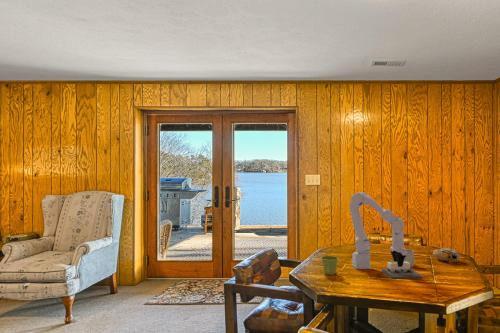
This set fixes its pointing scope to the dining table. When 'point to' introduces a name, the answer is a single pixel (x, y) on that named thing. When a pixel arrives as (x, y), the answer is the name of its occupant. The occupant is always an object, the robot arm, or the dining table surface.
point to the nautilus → (446, 255)
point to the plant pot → (329, 264)
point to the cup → (409, 257)
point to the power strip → (394, 265)
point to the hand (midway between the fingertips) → (398, 265)
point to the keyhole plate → (402, 273)
